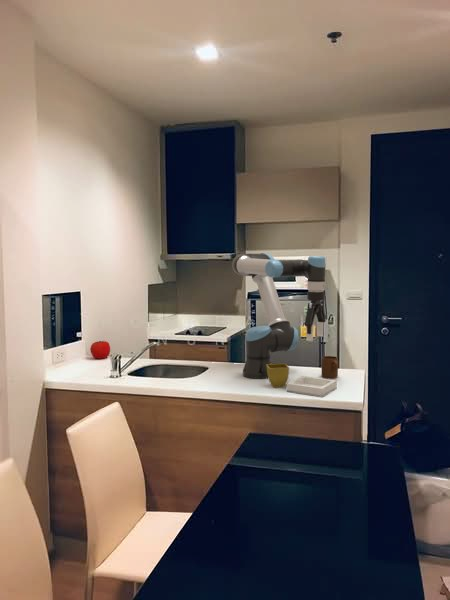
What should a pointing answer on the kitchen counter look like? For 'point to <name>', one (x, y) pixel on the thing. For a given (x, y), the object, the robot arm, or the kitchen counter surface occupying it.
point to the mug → (329, 367)
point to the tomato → (100, 349)
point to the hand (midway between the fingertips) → (314, 338)
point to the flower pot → (277, 374)
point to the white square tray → (312, 386)
